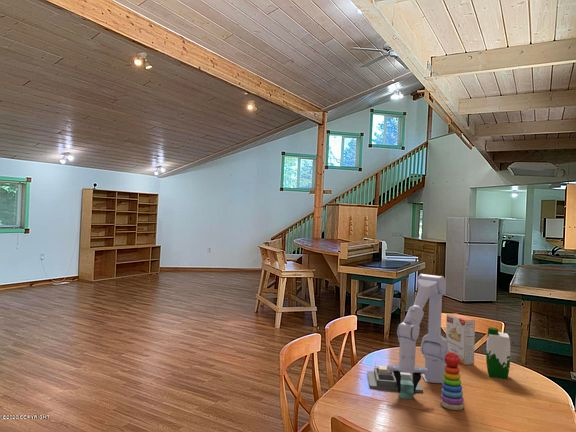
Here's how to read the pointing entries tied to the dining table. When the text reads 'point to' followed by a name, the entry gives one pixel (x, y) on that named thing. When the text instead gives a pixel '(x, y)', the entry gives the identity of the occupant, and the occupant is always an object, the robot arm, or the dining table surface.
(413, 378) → the robot arm
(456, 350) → the cracker box
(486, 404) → the dining table surface
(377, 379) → the puzzle board
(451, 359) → the stacking toy
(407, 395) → the teal block
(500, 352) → the milk carton
